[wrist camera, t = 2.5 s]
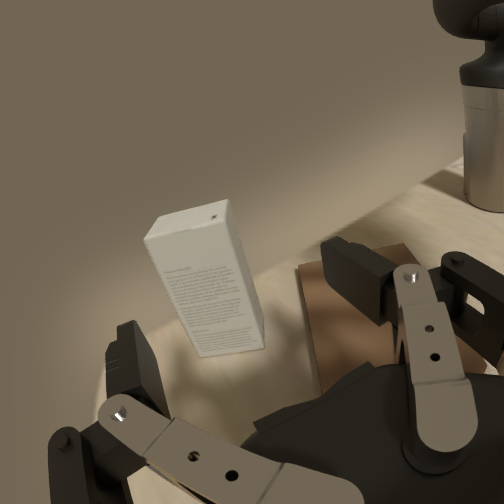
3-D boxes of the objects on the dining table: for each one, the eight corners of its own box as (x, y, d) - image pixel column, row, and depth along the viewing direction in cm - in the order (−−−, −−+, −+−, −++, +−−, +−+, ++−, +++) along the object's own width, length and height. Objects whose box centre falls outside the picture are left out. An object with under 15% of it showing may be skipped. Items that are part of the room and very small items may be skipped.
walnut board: (299, 274, 34) (297, 265, 33) (403, 252, 32) (403, 243, 32) (326, 423, 18) (325, 414, 18) (482, 375, 17) (487, 365, 16)
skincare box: (264, 317, 29) (231, 197, 24) (265, 350, 26) (226, 219, 20) (203, 327, 30) (157, 215, 24) (197, 359, 26) (140, 239, 21)
